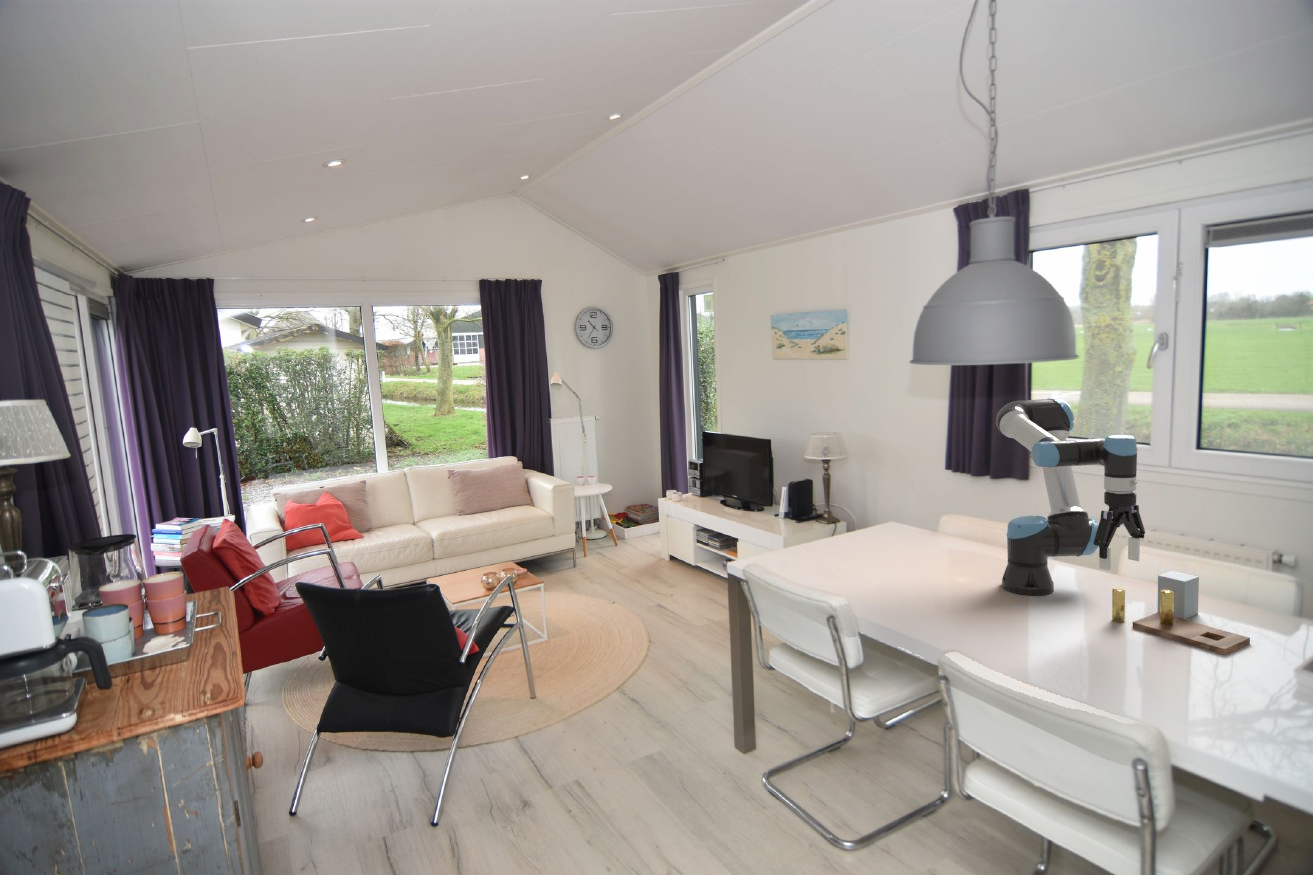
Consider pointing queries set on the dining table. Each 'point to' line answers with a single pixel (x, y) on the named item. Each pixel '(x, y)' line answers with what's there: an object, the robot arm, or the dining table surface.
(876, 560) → the dining table surface
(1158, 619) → the board
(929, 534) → the dining table surface
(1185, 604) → the block
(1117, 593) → the pin
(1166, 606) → the pin
